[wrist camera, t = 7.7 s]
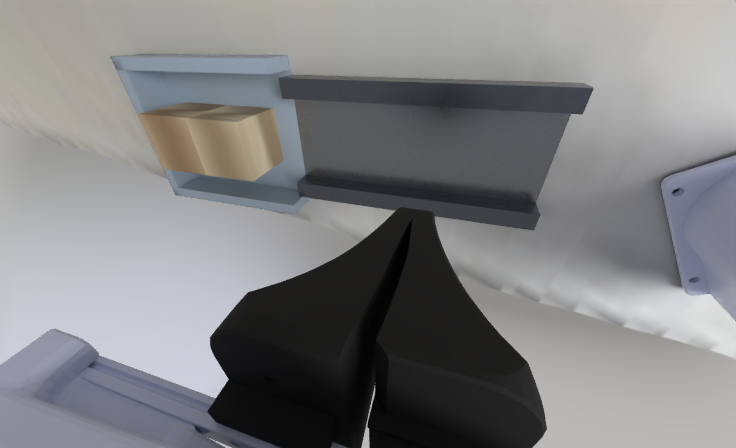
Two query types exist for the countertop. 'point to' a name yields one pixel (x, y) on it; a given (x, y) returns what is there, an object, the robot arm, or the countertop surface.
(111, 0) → the countertop surface
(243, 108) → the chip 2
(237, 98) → the tray
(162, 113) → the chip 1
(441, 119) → the slot rail
